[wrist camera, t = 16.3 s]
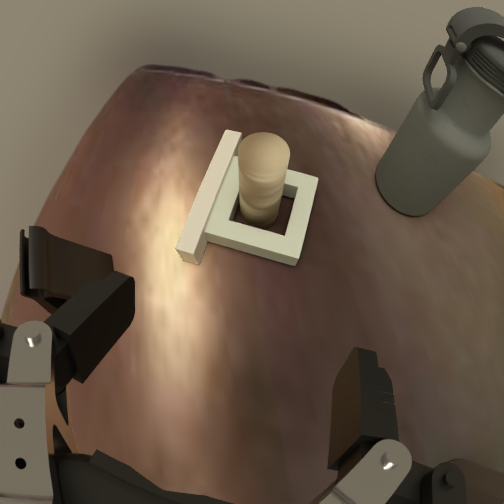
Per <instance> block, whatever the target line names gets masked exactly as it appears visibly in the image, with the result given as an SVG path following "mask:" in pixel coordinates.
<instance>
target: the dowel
mask: <svg viewBox="0 0 504 504" xmlns="http://www.w3.org/2000/svg"><path fill="white" fill-rule="evenodd" d="M289 158H290V150H289V147H288V145H287V143H286V142H285V141H284V140H283V139H282V138H280V137H279V136H277V135H275V134H272V133H266V132H259V133H254V134H251V135H249V136H247V137H246V138H244V139H243V140H242V142H241V143H240V145H239V147H238V172H239V196H240V216H241V219H242V221H243V223H244V224H245V225H248V226H251V227H255V228H259V229H262V230H264V229H267V228H269V227H271V226H272V225H273V224H274V223H275V221H276V219H277V216H278V211H279V206H280V202H281V197H282V192H283V187H284V182H285V177H286V172H287V168H288V163H289Z"/></svg>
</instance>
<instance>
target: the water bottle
mask: <svg viewBox="0 0 504 504" xmlns="http://www.w3.org/2000/svg"><path fill="white" fill-rule="evenodd" d="M446 31H447V33H448V34H449V37H450V38H449V40H448V42H447V44H446V46H445V47H444V46H442V45H438V46H437V47H436V48H435V50H434V52H433V54H432V56H431V58H430V60H429V62H428V64H427V66H426V68H425V70H424V73H423V84H424V89H425V91H423V92H422V93H421V94H420V95H419V97H418V98H417V99H416V101H415V103H414V105H413V106H412V108H411V110H410V111H409V113H408V115H407V117H406V118H405V120H404V122H403V124H402V125H401V127H400V129H399V130H398V132H397V134H396V135H395V137H394V139H393V140H392V142H391V144H390V145H389V147H388V149H387V150H386V152H385V154H384V155H383V157H382V158H381V160H380V162H379V164H378V166H377V169H376V181H377V185H378V188H379V190H380V192H381V194H382V196H383V197H384V199H385V200H386V201H387V202H388V203H389V204H390V205H391V206H392V207H393V208H395V209H396V210H398V211H399V212H401V213H404V214H406V215H411V216H420V215H424V214H426V213H428V212H430V211H431V210H432V209H433V208H434V207H435V206H436V205H438V204H439V203H440V202H441V201H442V200H443V199H444V198H445V197H446V196H447V195H448V194H449V193H450V192H452V191H453V190H454V189H455V188H456V187H457V186H458V185H459V184H460V183H461V182H462V181H463V180H464V179H465V178H466V177H467V176H468V175H469V174H470V173H471V172H472V171H473V170H474V169H475V168H476V167H477V166H478V165H479V164H480V163H481V162H482V161H483V160H484V159H485V158H486V156H487V155H488V153H489V151H490V148H491V136H490V131H489V130H490V129H491V128H492V127H493V126H494V125H495V123H496V122H497V121H498V120H499V119H500V117H501V116H502V115H503V114H504V41H503V40H501V39H500V38H498V37H497V36H499V37H501V38H504V17H503V16H501V15H500V14H498V13H496V12H494V11H492V10H490V9H485V8H482V7H472V8H466V9H463V10H461V11H459V12H457V13H456V14H455V15H454V16H453V17H452V18H451V19H450V21H449V23H448V25H447V27H446ZM441 55H442V57H443V60H444V62H445V65H446V67H447V78H446V81H445V83H444V84H443V86H442V88H437V87H436V88H432V87H431V83H430V79H431V74H432V71H433V69H434V67H435V65H436V63H437V62H438V60H439V58H440V56H441ZM454 65H455V66H454Z"/></svg>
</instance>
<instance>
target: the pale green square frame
mask: <svg viewBox="0 0 504 504" xmlns="http://www.w3.org/2000/svg"><path fill="white" fill-rule="evenodd" d="M317 182H318V178H317V177H313V176H310V175H306V174H303V173H299V172H296V171H292V170H289V169H287V172H286V177H285V182H284V187H283V192H282V195H283V196H287V197H290V198H294V199H295V200H294V204H293V208H292V211H291V215H290V219H289V222H288V226H287V229H286V233H285V236H283V235H280V234H276V233H273V232H269V231H266V230H262V229H259V228H255V227H251V226H248V225H244V224H241V223H237V222H233V219H234V216H235V214H236V211H237V208H238V205H239V202H240V196H239V172H238V157H237V156H234V158H233V160H232V163H231V165H230V167H229V170H228V172H227V175H226V177H225V180H224V182H223V185H222V187H221V190H220V192H219V195H218V198H217V200H216V203H215V205H214V208H213V210H212V213H211V216H210V218H209V221H208V223H207V226H206V229H205V231H204V232H205V235H206V238H207V241H208V242H212V243H215V244H219V245H222V246H226V247H229V248H233V249H236V250H240V251H243V252H246V253H250V254H253V255H257V256H260V257H264V258H267V259H271V260H274V261H278V262H281V263H285V264H288V265H292V266H295V265H296V263H297V261H298V260H299V257H300V253H301V249H302V245H303V241H304V237H305V233H306V229H307V225H308V221H309V216H310V212H311V208H312V204H313V200H314V195H315V191H316V187H317Z"/></svg>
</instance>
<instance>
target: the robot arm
mask: <svg viewBox="0 0 504 504" xmlns="http://www.w3.org/2000/svg"><path fill="white" fill-rule="evenodd" d="M134 314H135V281H134V278H133V277H131V276H128V275H125V274H123V273H120V272H118V271H113V272H112V273H110V274H109V275H108V276H107V277H106V278H105V279H103V280H101V279H98V280H95V281H93V282H91V283H88V284H86V285H85V286H84V287H83V288H82V289H80V290H79V291H78V293H76V294H75V295H73V296H72V297H71V299H70V300H68V301H67V302H65V303H64V304H63V305H62V306H61V307H60V308H59V309H58V310H56V311H55V312H54V313H53V314H52V315H51V316H50V317H49V318H48V319H46V320H45V321H44V322H41V321H29V322H26V323H24V324H22V325H20V326H19V327H14V326H11V325H7V324H3V323H1V320H0V504H233V503H229V502H225V501H222V500H218V499H215V498H211V497H208V496H204V495H194V494H186V493H178V492H171V491H166V490H162V489H160V488H159V487H157V486H156V485H154V484H153V483H152V482H150V481H149V480H147V479H146V478H145V477H143V476H142V475H141V474H139V473H138V472H137V471H135V470H134V469H133V468H131V467H130V466H128V465H126V464H124V463H122V462H120V461H118V460H116V459H114V458H112V457H110V456H108V455H106V454H104V453H103V452H101V451H99V450H97V449H96V451H95V453H94V454H93V456H91V455H86V454H79V453H78V449H77V445H76V442H75V439H74V436H73V431H72V423H71V413H70V400H69V387H68V383H69V382H70V380H71V379H72V378H73V379H75V380H77V381H78V382H80V383H82V384H83V383H84V381H85V380H86V379H87V378H88V376H89V375H90V374H91V373H92V371H93V370H94V369H95V368H96V366H97V365H98V364H99V363H100V361H101V360H102V359H103V358H104V356H105V355H106V354H107V353H108V351H109V350H110V349H111V348H112V347H113V345H114V344H115V343H116V342H117V340H118V339H119V338H120V337H121V336H122V334H123V333H124V332H125V331H126V330H127V328H128V327H129V326H130V324H131V323H132V320H133V318H134ZM327 469H331V470H338V477H337V479H336V480H335V481H333V482H332V483H331V484H330V485H329V486H328V487H327V488H326V489H325V490H324V491H323V492H322V493H320V494H319V495H318V496H317V497H316V498H315V499H314V500H312V501H311V502H310V503H309V504H504V473H501V472H498V471H495V470H492V469H489V468H485V467H482V466H480V465H477V464H474V463H471V462H468V461H465V460H462V459H456V460H452V461H450V462H444V463H441V464H439V465H438V466H437V467H435V468H434V469H433V468H430V467H427V466H425V465H422V464H419V463H417V462H415V461H413V460H412V459H411V455H410V452H409V451H408V449H407V448H406V447H405V446H404V445H403V444H401V443H400V442H399V438H398V428H397V419H396V410H395V405H394V395H393V388H392V381H391V379H390V377H389V375H388V374H387V372H386V370H385V369H384V368H379V367H378V362H377V355H376V352H375V351H371V350H367V349H363V348H358V347H354V348H353V349H352V351H351V353H350V354H349V356H348V358H347V360H346V361H345V363H344V365H343V367H342V368H341V370H340V372H339V373H338V375H337V377H336V379H335V382H334V386H333V392H332V412H331V429H330V443H329V456H328V467H327Z"/></svg>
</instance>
